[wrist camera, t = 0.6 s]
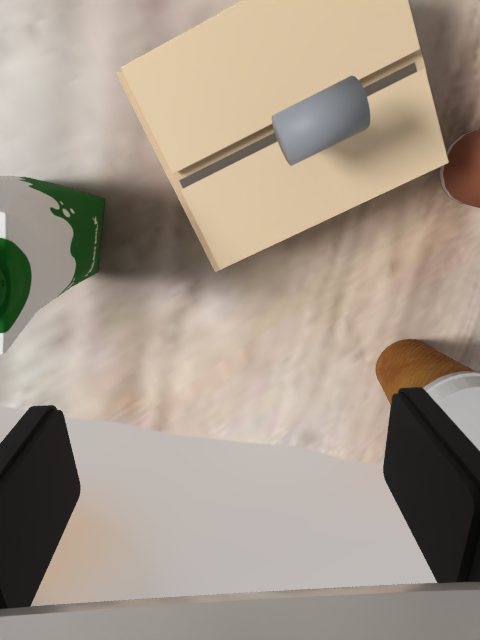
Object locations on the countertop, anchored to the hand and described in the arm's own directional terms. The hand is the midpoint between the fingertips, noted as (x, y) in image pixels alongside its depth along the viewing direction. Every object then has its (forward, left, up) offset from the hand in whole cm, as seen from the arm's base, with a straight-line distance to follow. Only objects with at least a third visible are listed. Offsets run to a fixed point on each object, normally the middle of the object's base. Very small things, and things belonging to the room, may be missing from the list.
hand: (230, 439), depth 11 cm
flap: (-8, -4, -19) cm, 21 cm away
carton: (-8, -8, -28) cm, 30 cm away
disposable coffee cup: (-12, +19, -28) cm, 36 cm away
